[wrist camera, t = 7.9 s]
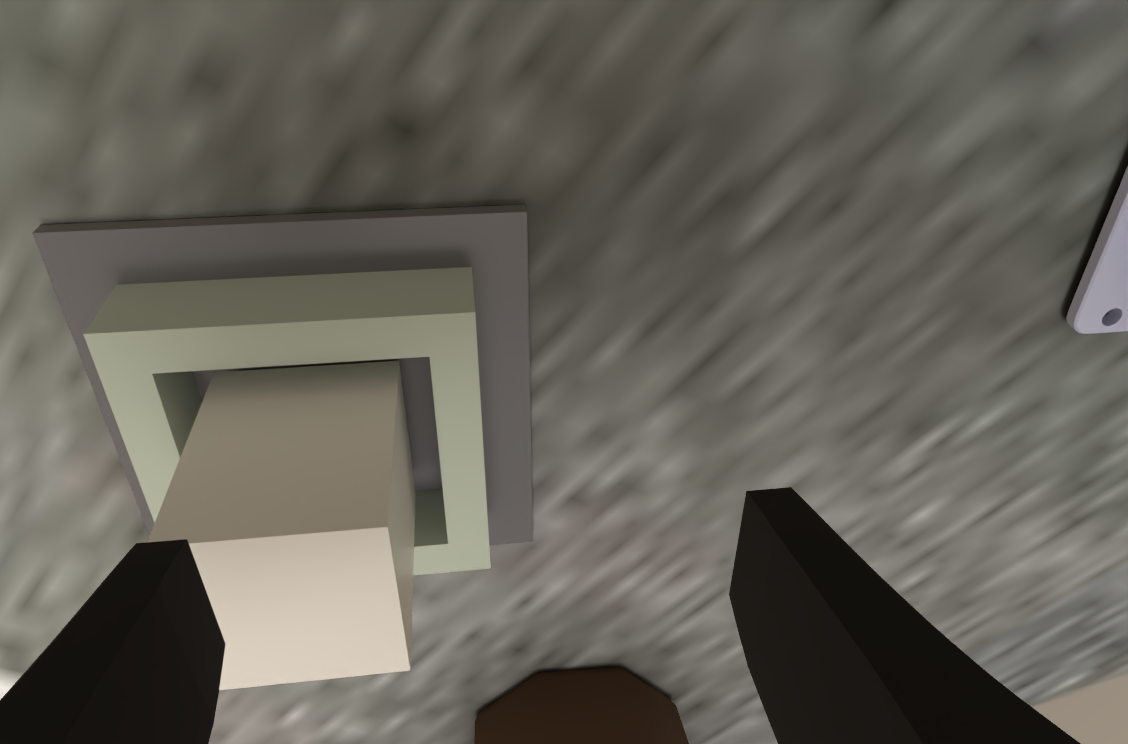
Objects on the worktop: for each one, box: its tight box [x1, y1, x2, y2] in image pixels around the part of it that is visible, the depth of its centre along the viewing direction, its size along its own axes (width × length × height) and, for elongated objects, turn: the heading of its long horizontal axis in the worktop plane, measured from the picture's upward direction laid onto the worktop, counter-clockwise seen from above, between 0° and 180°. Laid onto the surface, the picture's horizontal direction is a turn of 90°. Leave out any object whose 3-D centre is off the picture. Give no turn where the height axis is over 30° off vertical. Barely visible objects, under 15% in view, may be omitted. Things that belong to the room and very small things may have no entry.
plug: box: [147, 361, 416, 690], centre depth 18 cm, size 4×4×6 cm
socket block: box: [33, 204, 533, 575], centre depth 19 cm, size 10×10×2 cm
